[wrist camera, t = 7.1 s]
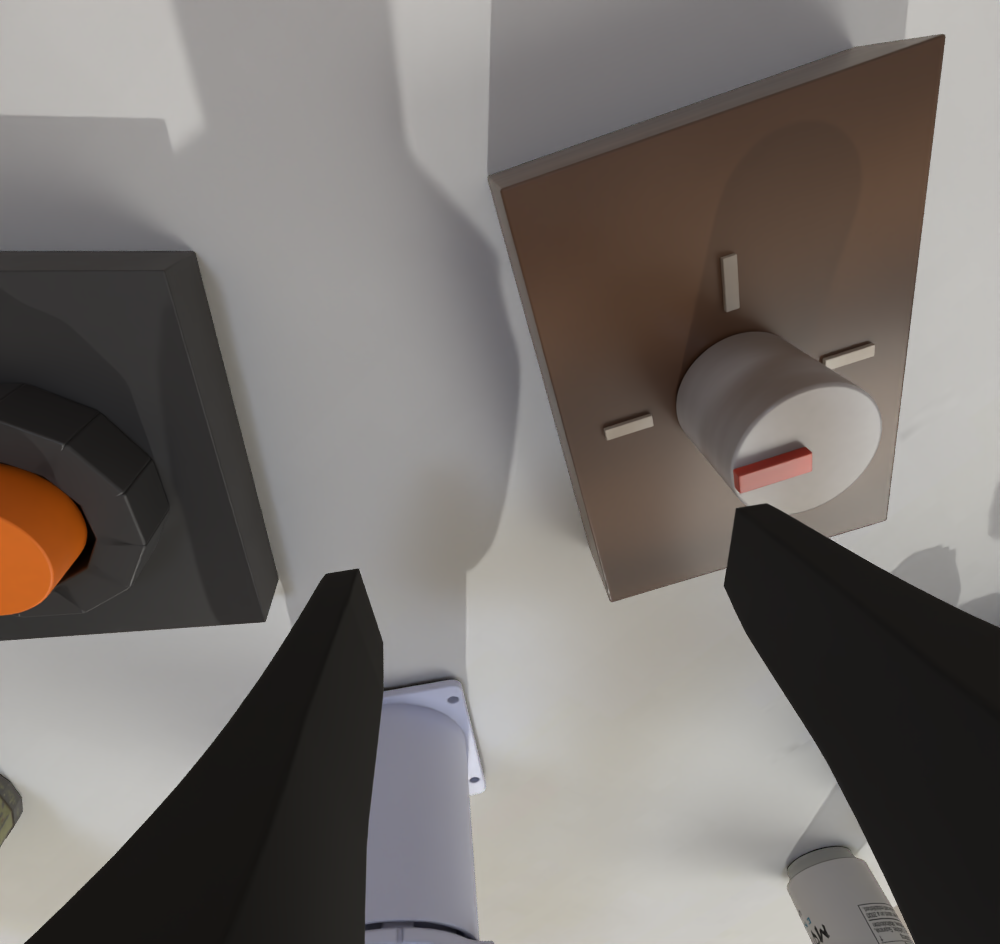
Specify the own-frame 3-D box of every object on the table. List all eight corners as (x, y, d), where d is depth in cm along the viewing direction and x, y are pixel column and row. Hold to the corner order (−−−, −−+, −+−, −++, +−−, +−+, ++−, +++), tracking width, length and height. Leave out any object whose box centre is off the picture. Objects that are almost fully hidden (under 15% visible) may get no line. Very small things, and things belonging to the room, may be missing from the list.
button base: (279, 579, 22) (253, 664, 18) (-5, 596, 21) (-88, 691, 17) (195, 250, 15) (131, 290, 12) (-225, 250, 14) (-426, 294, 11)
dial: (798, 311, 15) (900, 366, 12) (799, 424, 17) (886, 497, 14) (666, 355, 15) (732, 420, 12) (682, 462, 17) (742, 542, 14)
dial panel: (834, 474, 22) (890, 523, 19) (589, 549, 23) (612, 606, 20) (856, 46, 14) (953, 31, 12) (486, 176, 15) (500, 190, 12)
